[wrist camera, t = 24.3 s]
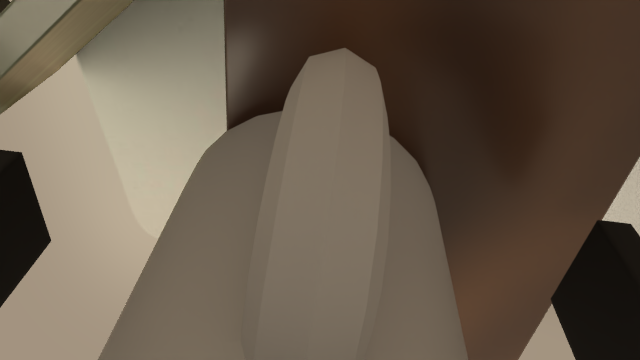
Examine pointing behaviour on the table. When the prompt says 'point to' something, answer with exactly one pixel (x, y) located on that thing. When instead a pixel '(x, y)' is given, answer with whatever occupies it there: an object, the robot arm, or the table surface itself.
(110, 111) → the table surface
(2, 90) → the cupboard door
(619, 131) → the cupboard
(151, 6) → the table surface
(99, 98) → the table surface
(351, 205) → the cup
